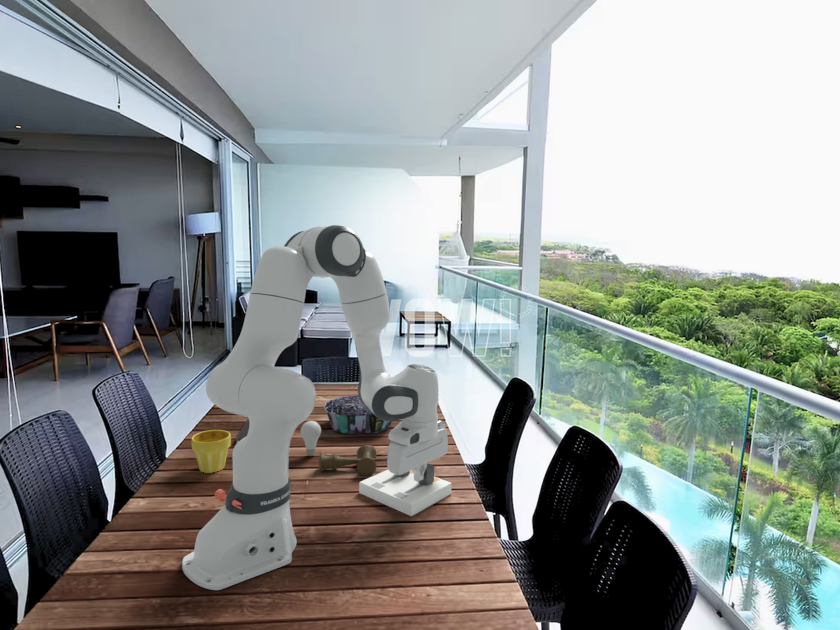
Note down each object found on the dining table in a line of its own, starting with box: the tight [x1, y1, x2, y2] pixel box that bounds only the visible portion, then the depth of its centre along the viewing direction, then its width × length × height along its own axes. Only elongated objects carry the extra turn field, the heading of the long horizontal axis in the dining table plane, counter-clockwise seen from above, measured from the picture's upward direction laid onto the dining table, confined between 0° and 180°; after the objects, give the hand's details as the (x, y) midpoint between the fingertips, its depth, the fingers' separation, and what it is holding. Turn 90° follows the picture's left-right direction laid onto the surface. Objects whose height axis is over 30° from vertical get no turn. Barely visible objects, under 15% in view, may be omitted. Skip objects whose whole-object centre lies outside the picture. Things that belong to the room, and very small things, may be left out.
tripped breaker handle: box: [419, 462, 435, 486], centre depth 134 cm, size 3×3×4 cm
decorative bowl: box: [323, 394, 393, 435], centre depth 187 cm, size 26×28×10 cm
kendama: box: [318, 444, 387, 477], centre depth 148 cm, size 6×10×20 cm
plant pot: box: [191, 429, 232, 474], centre depth 147 cm, size 10×10×10 cm
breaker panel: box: [358, 469, 452, 517], centre depth 134 cm, size 16×18×3 cm
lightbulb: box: [300, 420, 322, 457], centre depth 157 cm, size 6×6×11 cm
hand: (418, 480), depth 132 cm, fingers closed
